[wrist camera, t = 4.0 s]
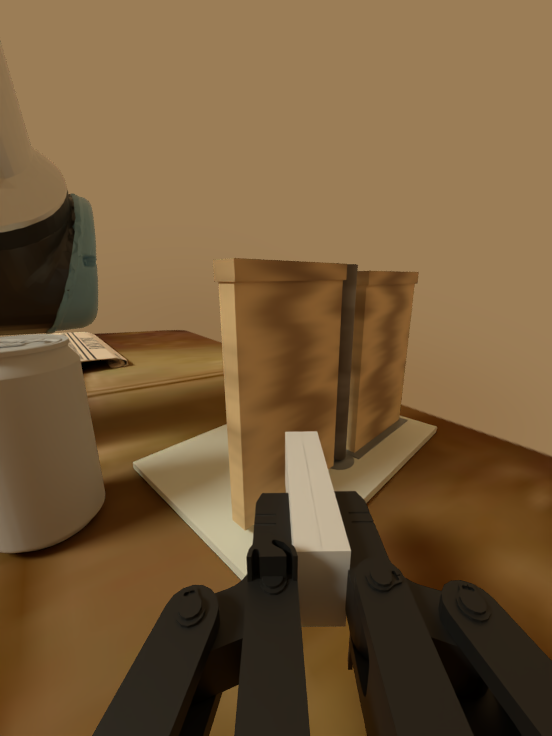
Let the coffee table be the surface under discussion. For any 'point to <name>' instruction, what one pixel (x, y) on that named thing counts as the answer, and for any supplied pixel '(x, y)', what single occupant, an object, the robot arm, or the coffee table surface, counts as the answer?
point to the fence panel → (283, 366)
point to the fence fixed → (378, 352)
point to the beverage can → (45, 444)
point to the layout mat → (213, 491)
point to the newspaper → (93, 349)
